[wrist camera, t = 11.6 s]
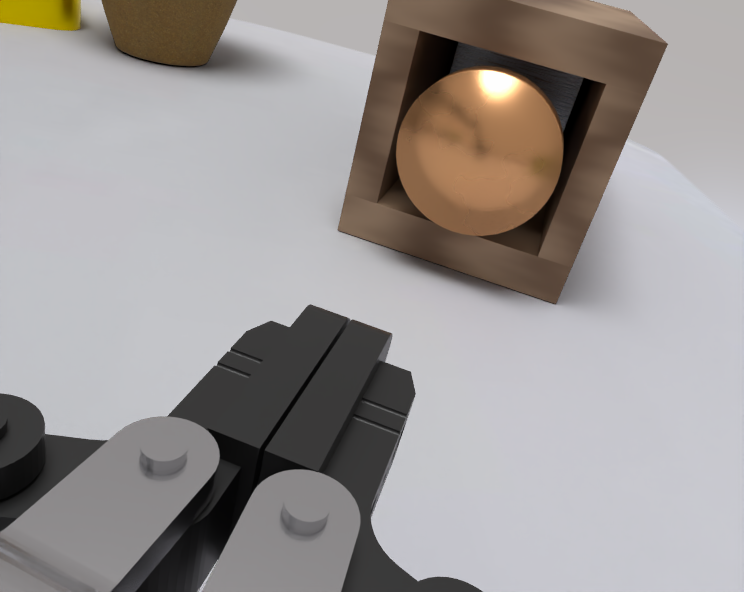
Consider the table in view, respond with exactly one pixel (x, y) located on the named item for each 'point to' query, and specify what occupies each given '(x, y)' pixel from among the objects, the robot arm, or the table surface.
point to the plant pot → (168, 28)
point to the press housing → (581, 134)
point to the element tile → (42, 13)
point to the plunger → (486, 141)
